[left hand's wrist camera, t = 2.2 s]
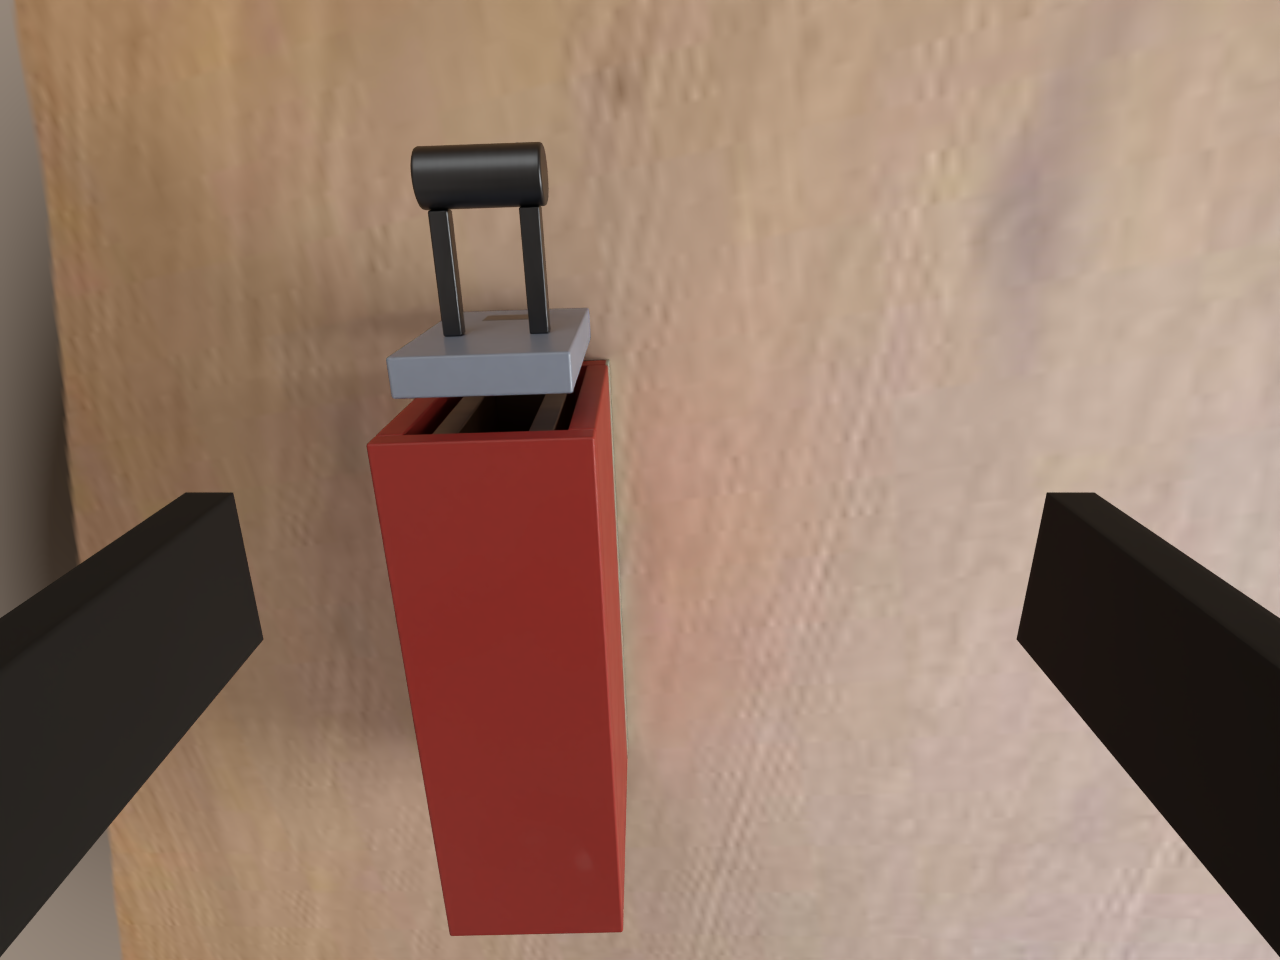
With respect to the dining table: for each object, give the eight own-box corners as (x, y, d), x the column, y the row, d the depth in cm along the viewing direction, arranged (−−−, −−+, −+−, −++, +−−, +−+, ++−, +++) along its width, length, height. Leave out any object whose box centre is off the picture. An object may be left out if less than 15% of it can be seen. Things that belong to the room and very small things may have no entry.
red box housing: (449, 364, 30) (364, 443, 21) (609, 359, 30) (594, 436, 21) (497, 749, 37) (449, 937, 28) (628, 746, 37) (623, 933, 28)
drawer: (433, 153, 27) (351, 141, 19) (580, 148, 27) (555, 134, 19) (499, 704, 35) (460, 847, 28) (611, 701, 35) (602, 844, 28)
